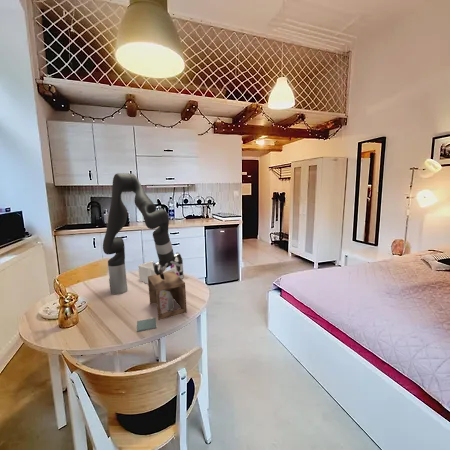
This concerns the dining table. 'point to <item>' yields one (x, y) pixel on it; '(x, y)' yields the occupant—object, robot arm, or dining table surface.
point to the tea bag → (166, 300)
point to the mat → (146, 324)
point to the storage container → (149, 271)
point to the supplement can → (180, 268)
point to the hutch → (168, 284)
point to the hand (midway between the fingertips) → (171, 274)
